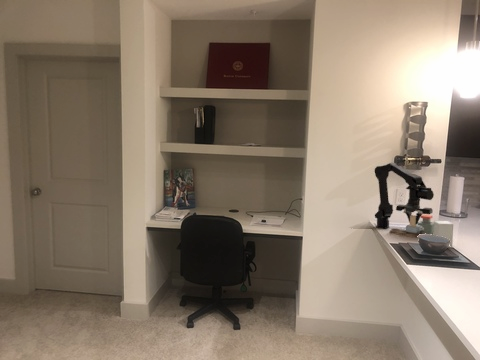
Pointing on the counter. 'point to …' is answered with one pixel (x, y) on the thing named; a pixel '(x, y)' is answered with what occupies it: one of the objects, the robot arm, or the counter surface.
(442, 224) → the supplement box
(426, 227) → the green jar
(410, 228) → the blue and cream block
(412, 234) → the rail bed
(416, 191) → the robot arm
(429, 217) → the button
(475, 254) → the counter surface
